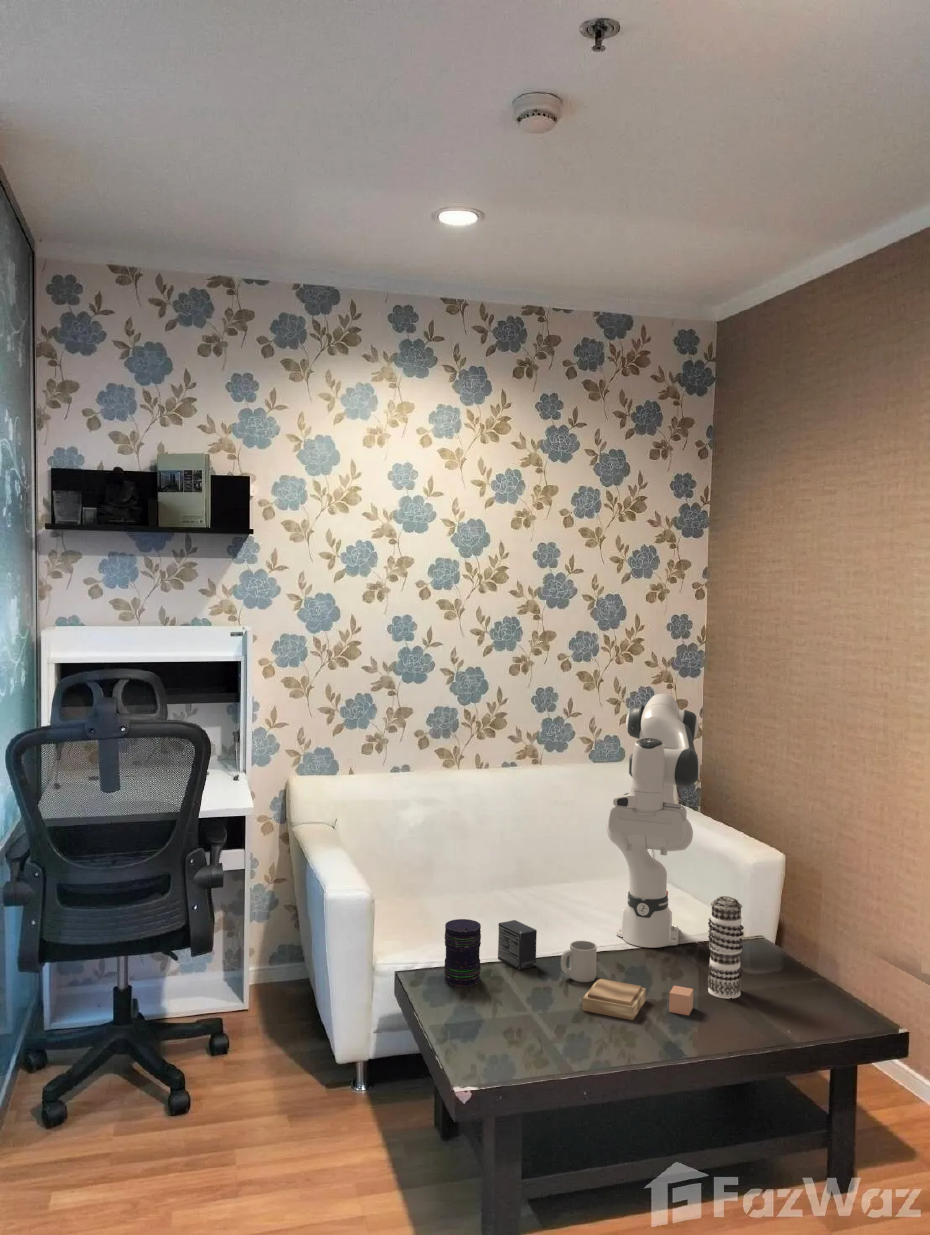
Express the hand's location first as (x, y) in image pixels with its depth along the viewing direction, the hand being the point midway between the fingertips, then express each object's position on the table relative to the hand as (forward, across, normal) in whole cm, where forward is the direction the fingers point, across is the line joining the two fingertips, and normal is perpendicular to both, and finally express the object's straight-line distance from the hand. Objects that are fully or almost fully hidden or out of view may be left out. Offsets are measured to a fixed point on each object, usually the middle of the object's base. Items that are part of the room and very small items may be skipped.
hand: (646, 852), depth 267 cm
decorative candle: (+37, -20, -9) cm, 43 cm away
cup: (+37, +18, -1) cm, 41 cm away
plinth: (+37, +4, +12) cm, 39 cm away
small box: (+37, +37, -3) cm, 53 cm away
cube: (+37, -12, +7) cm, 40 cm away
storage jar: (+37, +46, +15) cm, 61 cm away
